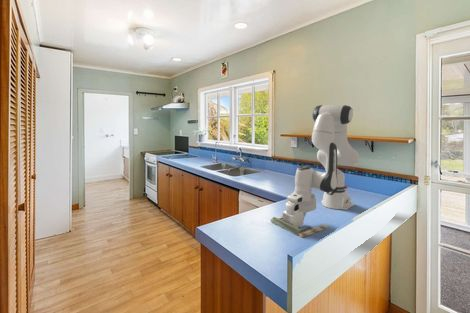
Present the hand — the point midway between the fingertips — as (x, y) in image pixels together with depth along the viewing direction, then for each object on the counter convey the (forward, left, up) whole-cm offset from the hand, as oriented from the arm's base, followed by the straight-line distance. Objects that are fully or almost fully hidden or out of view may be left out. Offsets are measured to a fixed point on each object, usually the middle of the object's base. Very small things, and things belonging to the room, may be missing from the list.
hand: (301, 220), depth 133 cm
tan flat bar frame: (+2, 0, -2) cm, 3 cm away
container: (+5, -1, -2) cm, 6 cm away
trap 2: (+4, +7, -2) cm, 8 cm away
